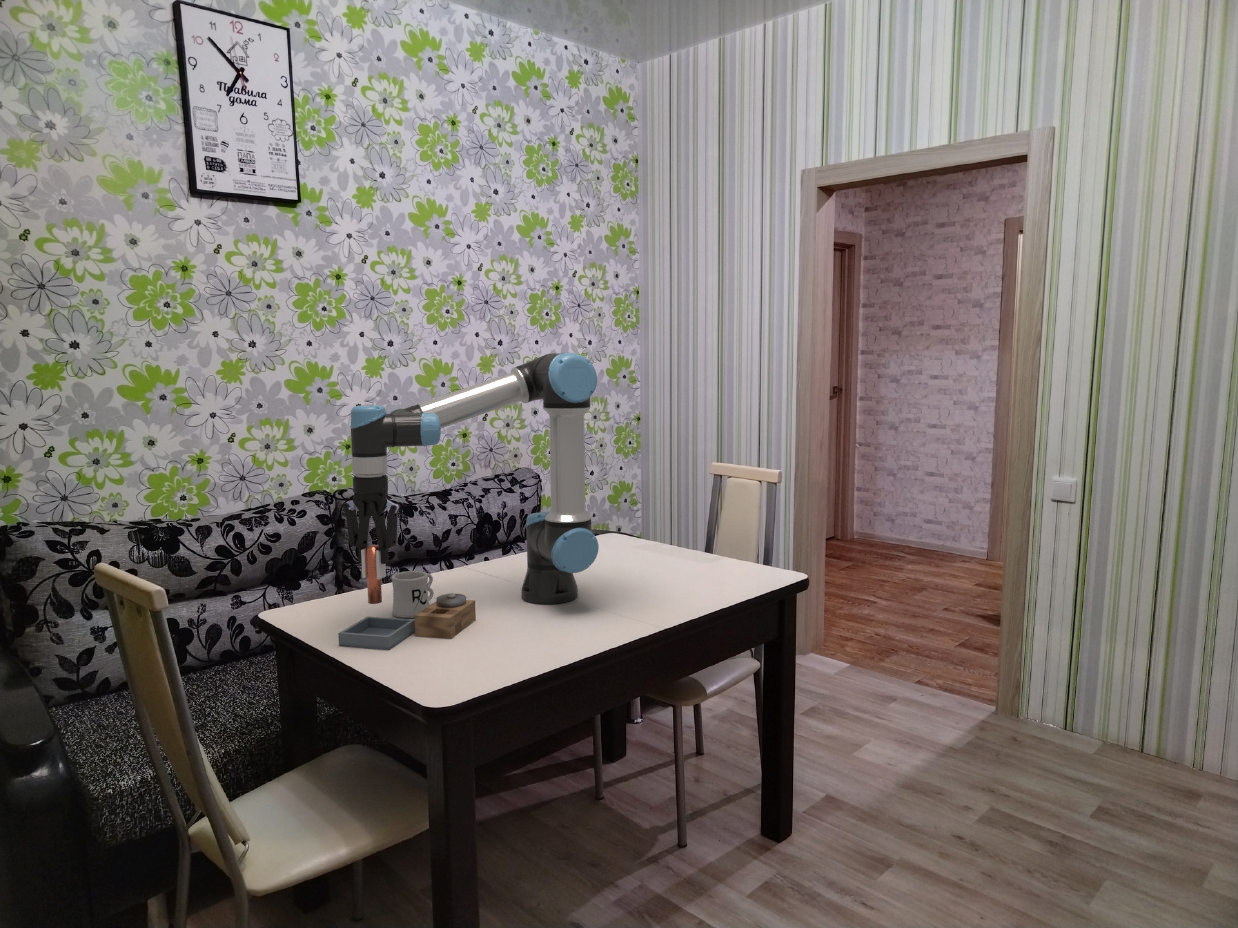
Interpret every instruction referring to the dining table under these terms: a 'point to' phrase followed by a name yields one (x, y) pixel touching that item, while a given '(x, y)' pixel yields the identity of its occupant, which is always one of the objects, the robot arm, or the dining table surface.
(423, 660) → the dining table surface
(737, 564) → the dining table surface
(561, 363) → the robot arm
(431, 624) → the block
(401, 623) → the tray
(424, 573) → the mug
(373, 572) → the pin
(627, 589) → the dining table surface
